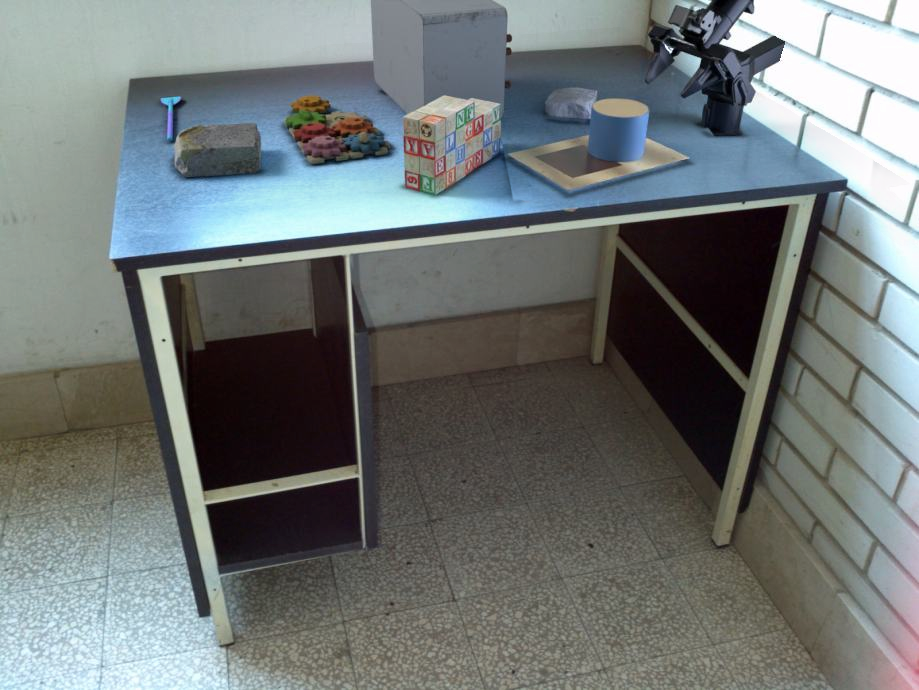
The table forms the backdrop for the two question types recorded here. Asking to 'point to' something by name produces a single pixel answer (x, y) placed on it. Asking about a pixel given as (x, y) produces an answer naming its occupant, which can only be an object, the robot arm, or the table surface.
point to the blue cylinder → (618, 130)
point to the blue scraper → (170, 114)
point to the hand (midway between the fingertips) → (663, 89)
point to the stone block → (571, 103)
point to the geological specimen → (218, 150)
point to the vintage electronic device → (440, 50)
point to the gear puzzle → (332, 132)
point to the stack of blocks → (449, 141)
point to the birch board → (589, 162)
